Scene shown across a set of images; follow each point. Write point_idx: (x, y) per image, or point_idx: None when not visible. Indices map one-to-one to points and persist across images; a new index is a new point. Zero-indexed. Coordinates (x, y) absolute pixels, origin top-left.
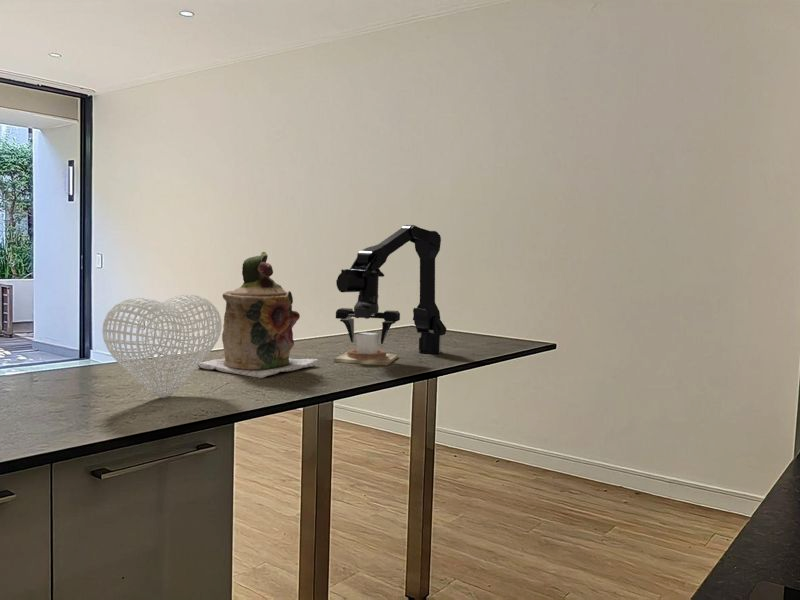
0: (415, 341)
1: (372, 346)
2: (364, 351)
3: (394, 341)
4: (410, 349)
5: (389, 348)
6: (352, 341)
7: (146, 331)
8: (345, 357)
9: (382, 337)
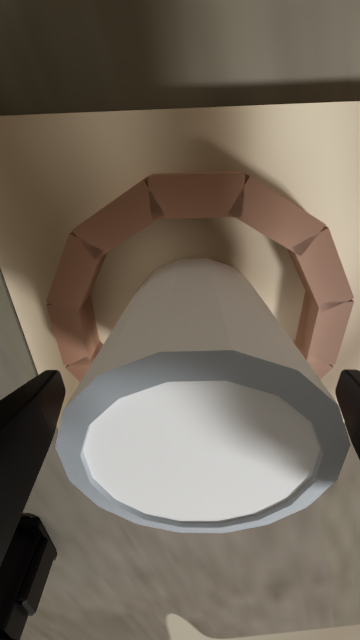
0: (144, 629)
1: (125, 314)
2: (197, 271)
3: (200, 622)
4: (105, 557)
5: (180, 556)
6: (347, 372)
7: None
8: (347, 208)
9: (2, 410)
